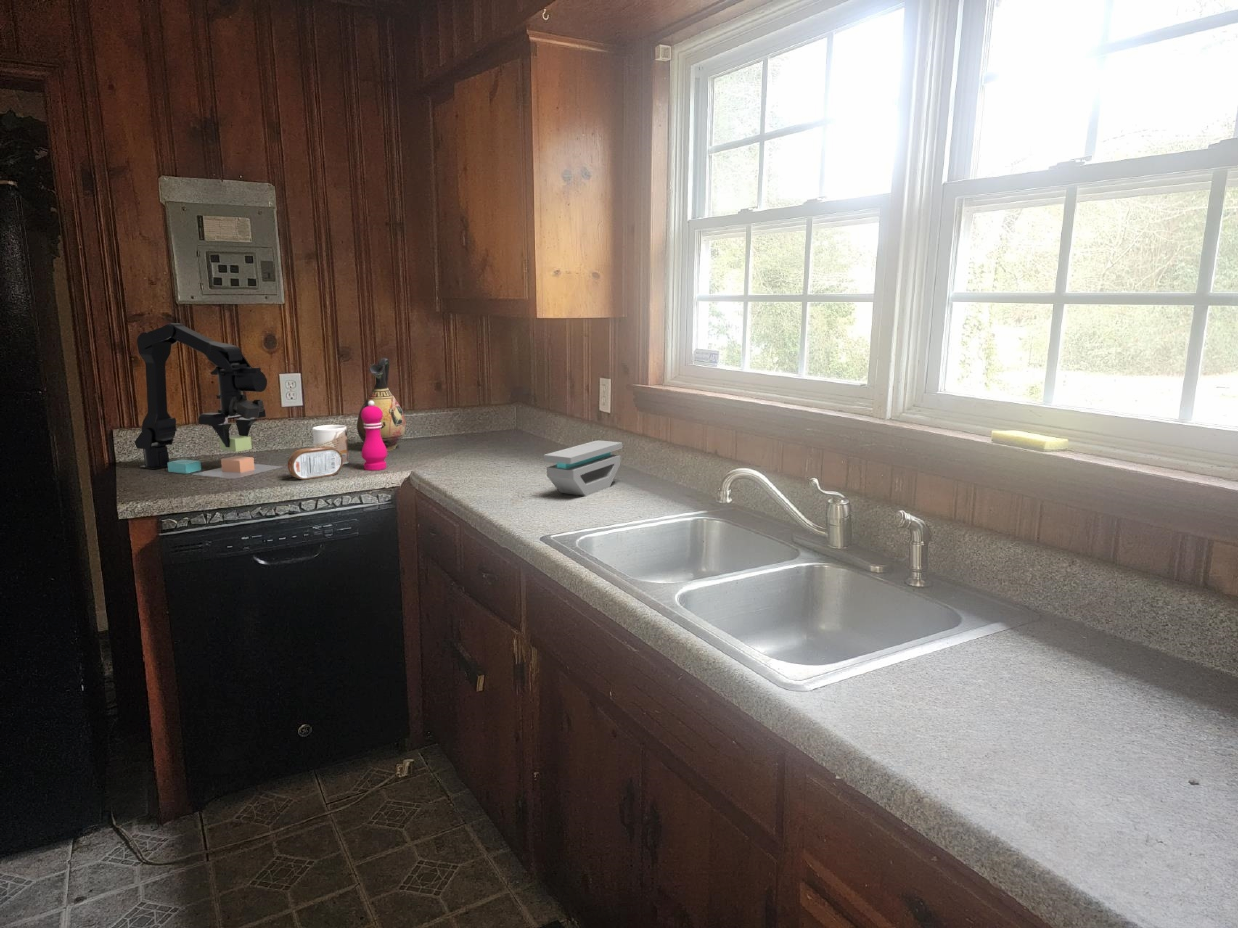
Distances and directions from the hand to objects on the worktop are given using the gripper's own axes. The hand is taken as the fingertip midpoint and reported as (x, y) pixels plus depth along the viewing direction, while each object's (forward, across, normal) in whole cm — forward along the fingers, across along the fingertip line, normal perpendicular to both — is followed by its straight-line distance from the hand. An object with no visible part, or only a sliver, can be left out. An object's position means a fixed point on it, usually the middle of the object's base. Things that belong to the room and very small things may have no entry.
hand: (235, 445), depth 230 cm
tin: (+8, +3, -26) cm, 27 cm away
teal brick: (+8, -6, +14) cm, 17 cm away
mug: (+8, +22, -15) cm, 28 cm away
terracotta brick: (+7, 0, 0) cm, 7 cm away
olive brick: (+1, 0, 0) cm, 1 cm away
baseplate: (+8, 0, 0) cm, 8 cm away
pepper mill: (+8, +19, -33) cm, 39 cm away
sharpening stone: (+8, +16, -102) cm, 104 cm away
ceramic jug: (+8, +47, -14) cm, 50 cm away
